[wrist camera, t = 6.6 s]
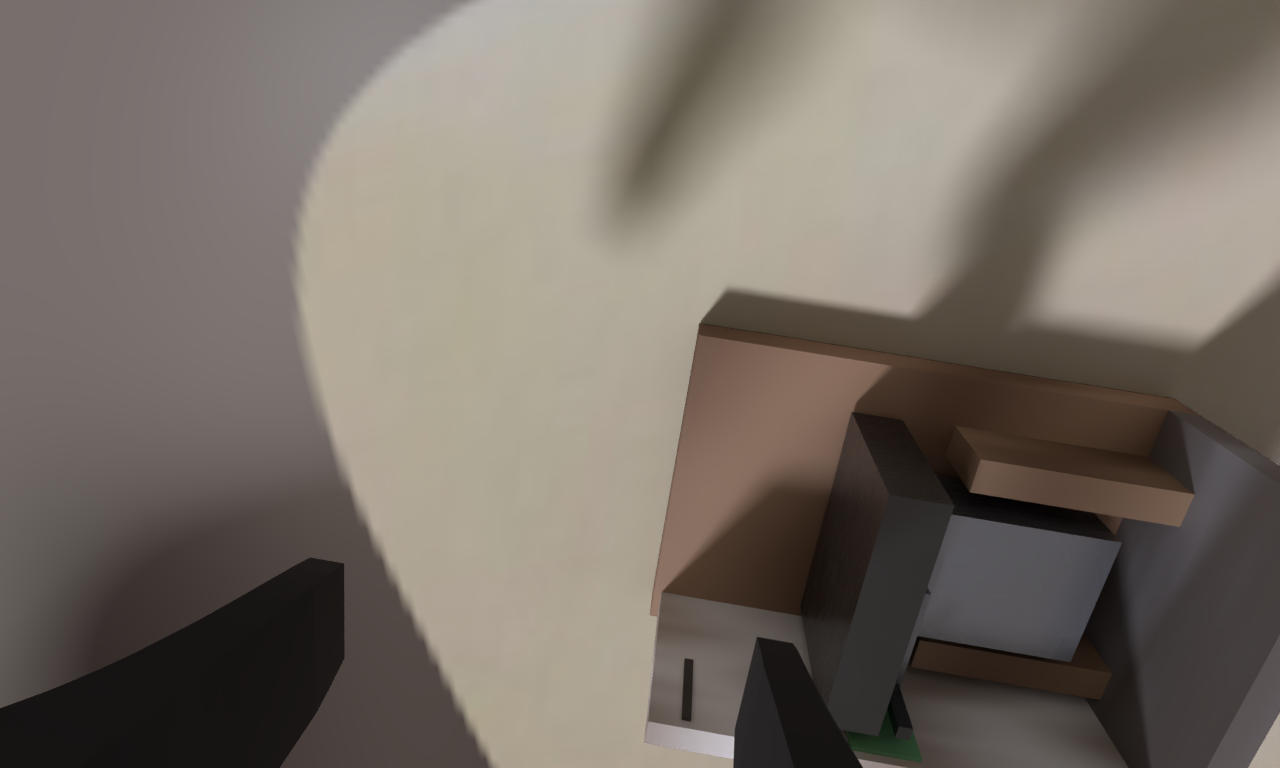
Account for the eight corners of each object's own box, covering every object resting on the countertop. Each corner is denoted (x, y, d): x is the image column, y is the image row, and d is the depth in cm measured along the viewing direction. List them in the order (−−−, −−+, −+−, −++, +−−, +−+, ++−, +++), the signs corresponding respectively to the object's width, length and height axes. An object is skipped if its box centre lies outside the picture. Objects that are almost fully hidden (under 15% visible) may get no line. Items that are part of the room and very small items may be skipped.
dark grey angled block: (1097, 451, 17) (1202, 547, 14) (1019, 645, 19) (1093, 774, 16) (851, 411, 18) (889, 494, 14) (800, 607, 20) (821, 725, 16)
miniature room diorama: (1173, 399, 18) (1383, 531, 12) (1061, 662, 21) (1189, 868, 15) (699, 323, 18) (693, 419, 13) (652, 592, 21) (630, 767, 16)
